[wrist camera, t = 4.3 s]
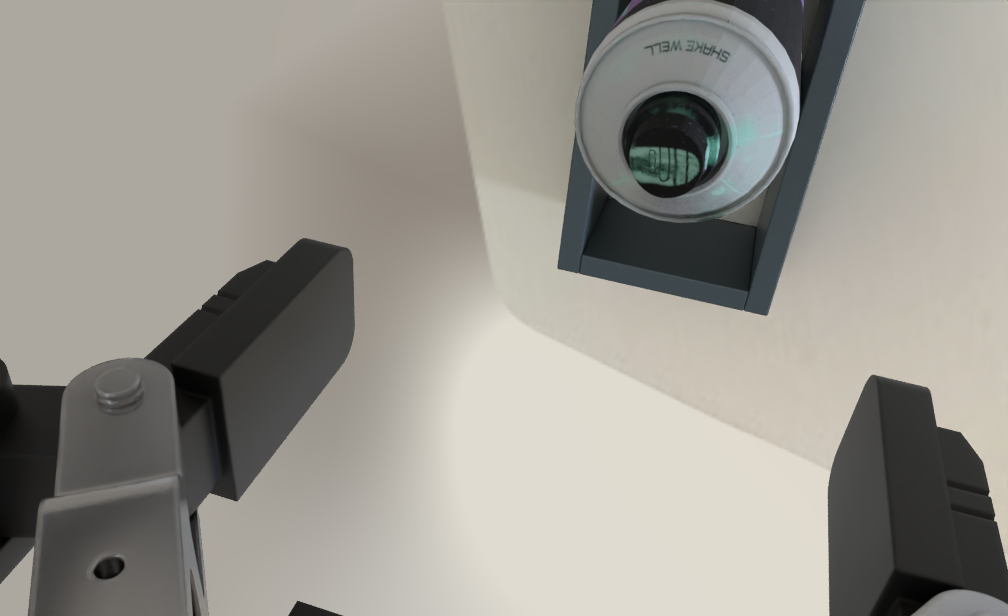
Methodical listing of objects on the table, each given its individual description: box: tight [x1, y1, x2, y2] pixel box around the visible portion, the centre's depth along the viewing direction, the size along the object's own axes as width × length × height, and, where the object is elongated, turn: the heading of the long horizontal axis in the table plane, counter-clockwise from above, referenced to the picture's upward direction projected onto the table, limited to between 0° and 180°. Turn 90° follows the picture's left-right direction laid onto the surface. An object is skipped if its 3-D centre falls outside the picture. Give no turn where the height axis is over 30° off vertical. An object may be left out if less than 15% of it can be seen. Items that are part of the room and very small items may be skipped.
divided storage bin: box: [558, 0, 866, 316], centre depth 35 cm, size 9×16×6 cm, turn 175°
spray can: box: [575, 0, 804, 223], centre depth 27 cm, size 6×6×20 cm
